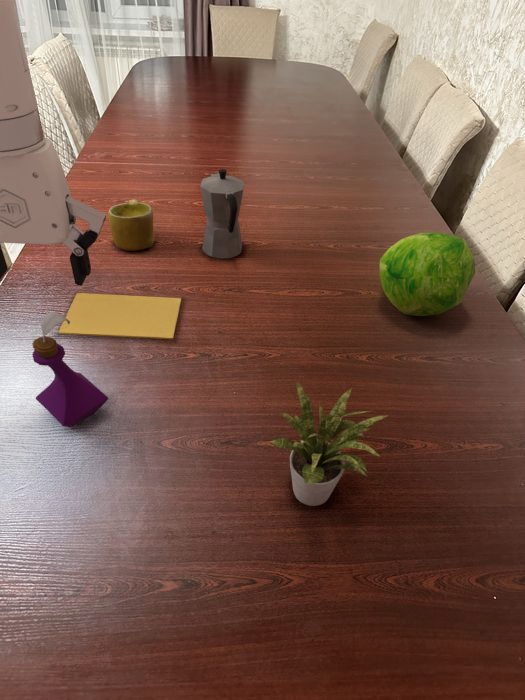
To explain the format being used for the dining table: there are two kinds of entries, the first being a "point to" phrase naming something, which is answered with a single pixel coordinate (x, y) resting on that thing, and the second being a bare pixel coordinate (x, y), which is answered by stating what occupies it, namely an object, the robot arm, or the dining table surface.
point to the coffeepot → (222, 215)
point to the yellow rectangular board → (122, 316)
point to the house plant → (323, 448)
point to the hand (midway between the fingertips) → (41, 277)
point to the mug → (132, 225)
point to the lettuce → (427, 273)
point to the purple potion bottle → (64, 380)
